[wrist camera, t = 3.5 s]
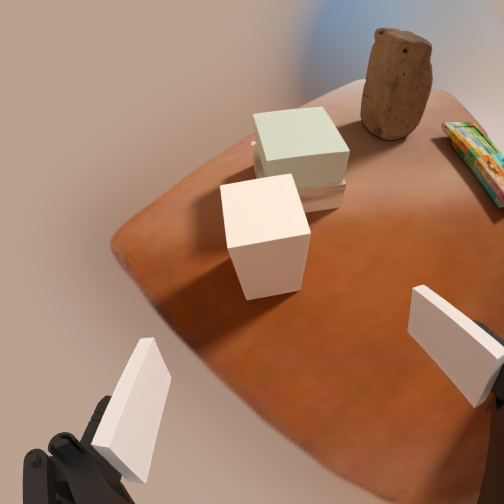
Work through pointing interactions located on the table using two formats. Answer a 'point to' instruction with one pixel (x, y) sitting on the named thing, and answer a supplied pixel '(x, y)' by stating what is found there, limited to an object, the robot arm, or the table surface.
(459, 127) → the puzzle game
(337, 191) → the tower base
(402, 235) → the table surface
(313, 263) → the table surface
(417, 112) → the block
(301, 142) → the tower top
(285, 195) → the cream block
